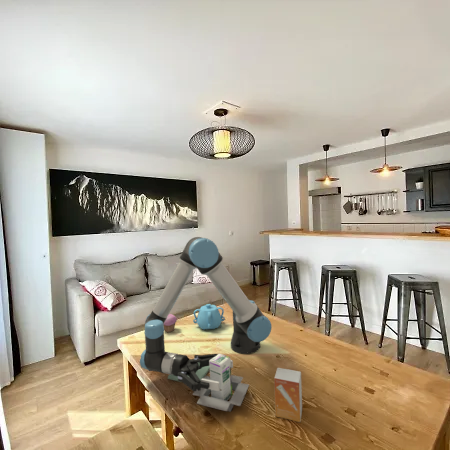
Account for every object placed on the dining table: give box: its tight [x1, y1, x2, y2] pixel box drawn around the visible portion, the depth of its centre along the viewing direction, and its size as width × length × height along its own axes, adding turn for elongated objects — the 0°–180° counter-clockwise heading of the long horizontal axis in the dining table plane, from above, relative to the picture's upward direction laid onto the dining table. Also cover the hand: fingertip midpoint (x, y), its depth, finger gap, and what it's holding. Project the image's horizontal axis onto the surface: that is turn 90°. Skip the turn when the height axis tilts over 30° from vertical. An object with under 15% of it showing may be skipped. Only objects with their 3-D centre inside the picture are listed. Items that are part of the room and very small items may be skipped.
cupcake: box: [163, 313, 178, 333], centre depth 150 cm, size 9×9×10 cm
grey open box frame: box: [192, 374, 250, 413], centre depth 92 cm, size 18×18×3 cm
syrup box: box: [209, 353, 234, 401], centre depth 92 cm, size 6×6×14 cm
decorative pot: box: [193, 303, 226, 331], centre depth 154 cm, size 16×16×14 cm
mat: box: [167, 366, 210, 383], centre depth 108 cm, size 14×14×1 cm
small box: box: [274, 367, 303, 423], centre depth 83 cm, size 8×6×13 cm
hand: (226, 374), depth 91 cm, fingers open, 13 cm apart
